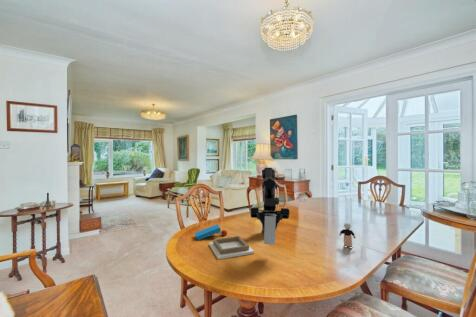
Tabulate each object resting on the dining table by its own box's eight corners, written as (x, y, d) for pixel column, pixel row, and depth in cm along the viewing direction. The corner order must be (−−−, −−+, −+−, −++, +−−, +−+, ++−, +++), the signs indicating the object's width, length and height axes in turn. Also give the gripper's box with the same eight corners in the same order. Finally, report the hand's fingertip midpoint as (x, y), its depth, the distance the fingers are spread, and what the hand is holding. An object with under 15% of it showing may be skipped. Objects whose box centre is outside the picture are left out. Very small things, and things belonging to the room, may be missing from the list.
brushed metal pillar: (264, 239, 109) (265, 213, 108) (274, 240, 108) (275, 213, 108) (264, 243, 104) (264, 216, 103) (274, 244, 103) (275, 216, 103)
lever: (199, 248, 127) (229, 236, 132) (196, 236, 126) (225, 225, 131) (197, 243, 133) (226, 232, 139) (194, 232, 133) (223, 221, 138)
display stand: (240, 240, 126) (240, 234, 126) (253, 253, 109) (253, 246, 109) (209, 244, 120) (209, 238, 120) (218, 259, 103) (218, 252, 103)
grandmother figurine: (354, 246, 118) (354, 222, 118) (355, 249, 114) (356, 224, 114) (338, 244, 120) (338, 220, 120) (339, 247, 117) (339, 222, 117)
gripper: (250, 191, 110) (249, 219, 100) (289, 191, 108) (291, 221, 97) (251, 203, 118) (250, 231, 108) (287, 204, 116) (289, 232, 105)
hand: (269, 229), depth 104 cm, fingers closed on brushed metal pillar, 5 cm apart
